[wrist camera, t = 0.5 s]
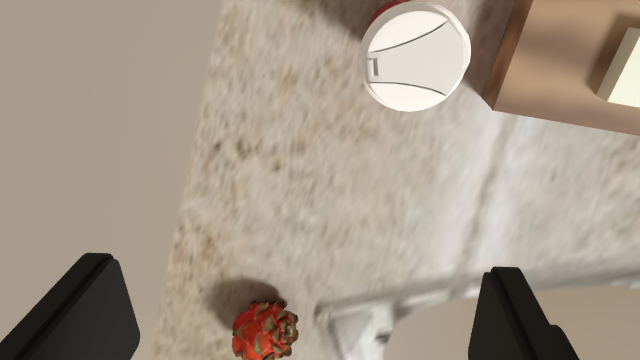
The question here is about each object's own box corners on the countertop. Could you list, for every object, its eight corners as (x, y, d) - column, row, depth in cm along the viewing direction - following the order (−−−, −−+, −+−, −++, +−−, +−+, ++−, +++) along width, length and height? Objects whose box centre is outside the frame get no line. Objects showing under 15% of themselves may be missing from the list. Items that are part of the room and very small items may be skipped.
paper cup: (361, 74, 43) (362, 121, 31) (354, -7, 40) (353, 10, 27) (439, 66, 42) (472, 111, 30) (439, -18, 39) (478, -5, 26)
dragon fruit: (301, 282, 59) (258, 318, 66) (250, 284, 53) (208, 323, 60) (321, 342, 55) (272, 374, 61) (268, 351, 49) (220, 385, 56)
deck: (535, -56, 37) (554, -58, 33) (782, -13, 37) (827, -10, 33) (481, 97, 43) (492, 110, 40) (691, 134, 43) (720, 149, 40)
